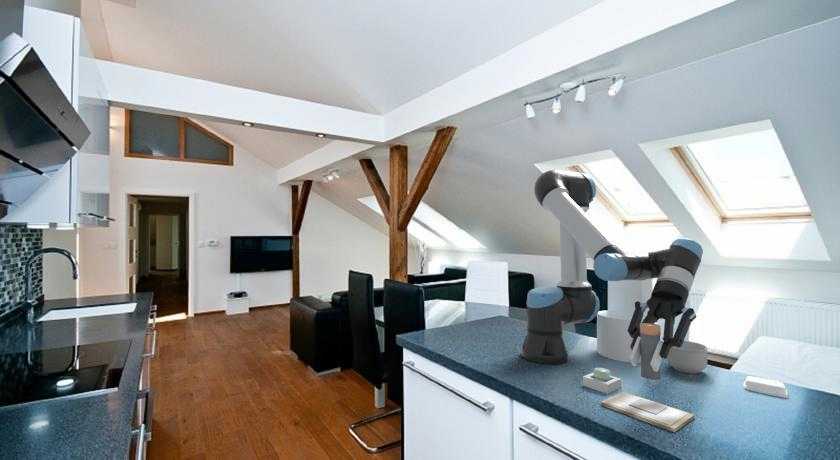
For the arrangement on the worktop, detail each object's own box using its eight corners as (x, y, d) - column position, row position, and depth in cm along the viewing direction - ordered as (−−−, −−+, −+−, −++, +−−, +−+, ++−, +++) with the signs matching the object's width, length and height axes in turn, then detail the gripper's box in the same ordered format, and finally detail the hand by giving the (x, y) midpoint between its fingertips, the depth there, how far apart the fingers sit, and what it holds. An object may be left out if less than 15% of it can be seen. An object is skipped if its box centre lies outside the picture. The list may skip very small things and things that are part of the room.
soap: (742, 390, 105) (742, 379, 105) (743, 383, 110) (743, 373, 110) (788, 400, 99) (788, 388, 99) (787, 392, 104) (787, 381, 104)
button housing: (582, 385, 106) (582, 376, 106) (596, 380, 110) (596, 371, 110) (607, 394, 101) (607, 384, 101) (620, 387, 105) (621, 378, 105)
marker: (637, 376, 91) (636, 324, 91) (645, 372, 94) (644, 322, 94) (656, 381, 88) (655, 327, 88) (664, 377, 90) (663, 325, 91)
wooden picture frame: (600, 405, 94) (600, 400, 94) (623, 394, 100) (623, 390, 100) (674, 432, 81) (674, 427, 81) (694, 418, 87) (694, 413, 87)
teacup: (715, 377, 113) (715, 350, 113) (674, 374, 115) (674, 348, 115) (691, 362, 127) (691, 338, 127) (655, 360, 129) (655, 336, 129)
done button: (590, 380, 106) (590, 369, 106) (598, 377, 108) (598, 366, 108) (605, 385, 103) (605, 373, 103) (612, 381, 105) (612, 370, 105)
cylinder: (628, 346, 145) (628, 272, 145) (665, 361, 128) (664, 277, 128) (586, 348, 142) (586, 272, 142) (618, 363, 125) (618, 277, 125)
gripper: (715, 302, 93) (690, 385, 83) (642, 293, 107) (612, 364, 97) (707, 281, 90) (680, 365, 80) (632, 275, 104) (601, 347, 94)
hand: (643, 365), depth 89 cm, fingers closed on marker, 4 cm apart
